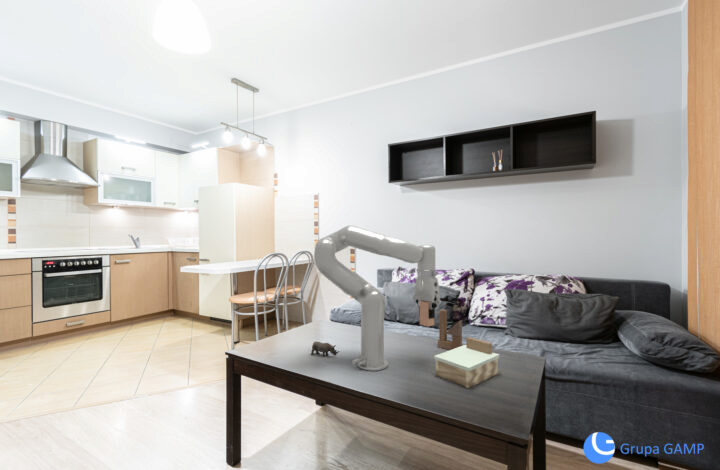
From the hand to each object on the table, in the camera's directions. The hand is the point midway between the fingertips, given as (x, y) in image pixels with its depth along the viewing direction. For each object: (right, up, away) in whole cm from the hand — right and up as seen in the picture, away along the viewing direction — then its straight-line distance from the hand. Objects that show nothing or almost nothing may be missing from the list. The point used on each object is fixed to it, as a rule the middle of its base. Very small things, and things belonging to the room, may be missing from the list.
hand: (426, 316), depth 138 cm
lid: (+13, -13, -13) cm, 22 cm away
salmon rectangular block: (0, -3, 0) cm, 3 cm away
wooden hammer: (+14, -20, +17) cm, 29 cm away
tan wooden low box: (+13, -19, -13) cm, 26 cm away
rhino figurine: (-44, -20, +7) cm, 49 cm away
